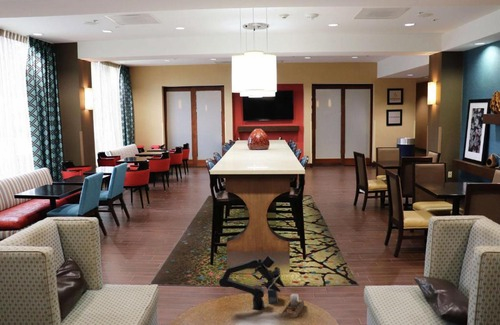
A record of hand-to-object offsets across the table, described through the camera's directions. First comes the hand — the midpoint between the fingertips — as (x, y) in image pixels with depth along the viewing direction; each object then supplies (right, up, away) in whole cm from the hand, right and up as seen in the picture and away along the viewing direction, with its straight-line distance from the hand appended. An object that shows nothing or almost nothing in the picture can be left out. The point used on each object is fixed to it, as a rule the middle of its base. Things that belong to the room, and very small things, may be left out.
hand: (282, 289), depth 301 cm
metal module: (+9, -12, -2) cm, 15 cm away
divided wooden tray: (+7, -13, -6) cm, 16 cm away
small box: (-5, -13, +15) cm, 20 cm away
